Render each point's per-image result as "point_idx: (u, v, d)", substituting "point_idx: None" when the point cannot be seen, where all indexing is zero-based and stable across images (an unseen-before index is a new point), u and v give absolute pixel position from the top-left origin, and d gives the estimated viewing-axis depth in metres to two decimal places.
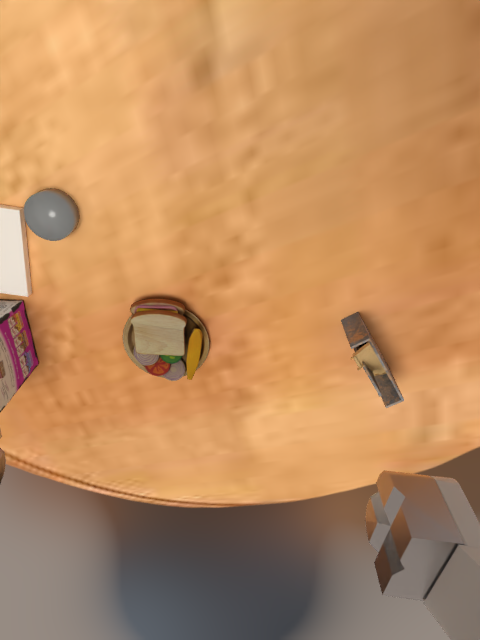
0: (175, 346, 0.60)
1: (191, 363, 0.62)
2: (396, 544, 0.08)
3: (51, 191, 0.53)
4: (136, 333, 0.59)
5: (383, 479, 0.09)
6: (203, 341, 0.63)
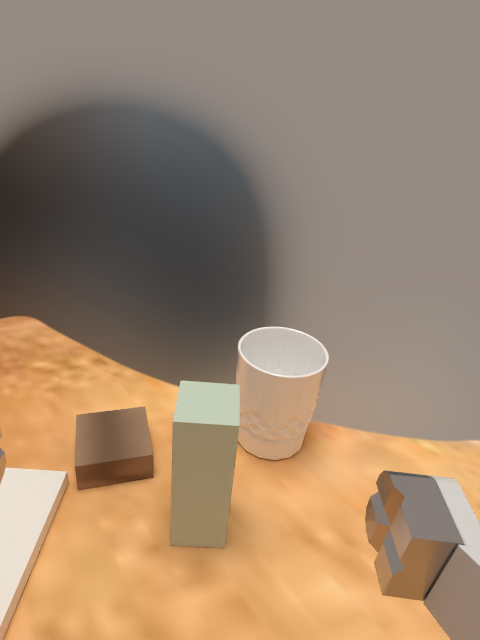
0: None
1: None
2: (396, 544, 0.08)
3: None
4: None
5: (383, 479, 0.09)
6: None
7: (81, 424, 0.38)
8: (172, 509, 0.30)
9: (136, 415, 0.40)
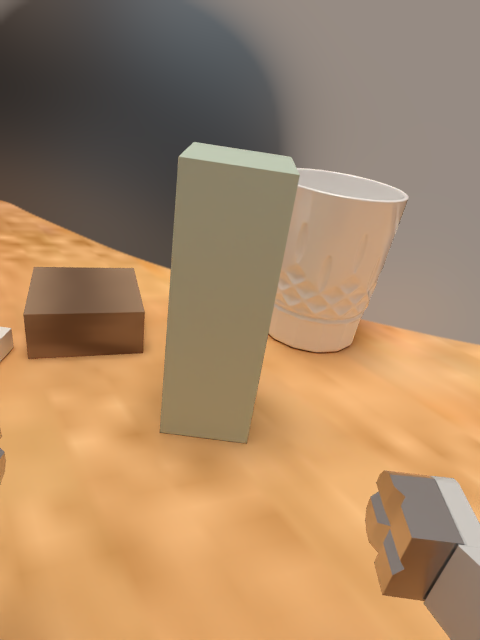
0: None
1: None
2: (396, 544, 0.08)
3: None
4: None
5: (383, 479, 0.09)
6: None
7: (40, 276, 0.26)
8: (166, 359, 0.18)
9: (121, 274, 0.28)
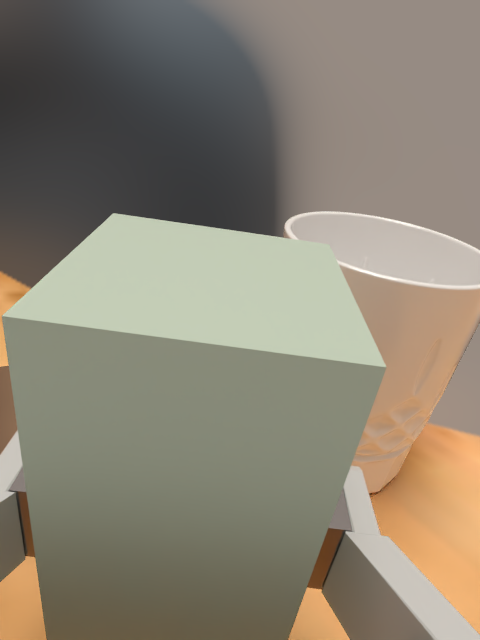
0: None
1: None
2: None
3: None
4: None
5: None
6: None
7: None
8: None
9: None
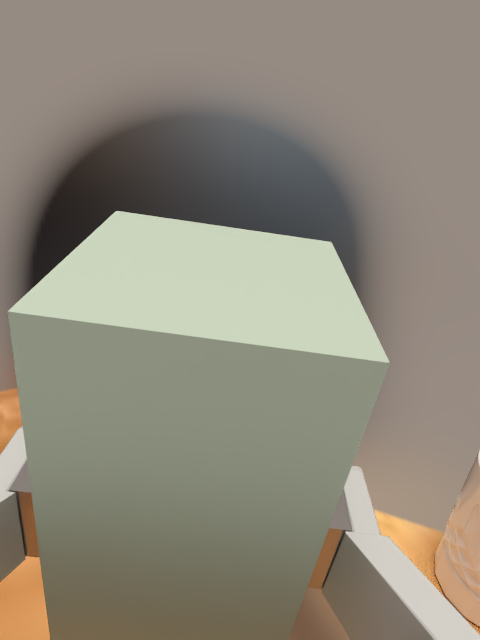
0: None
1: None
2: None
3: None
4: None
5: None
6: None
7: None
8: None
9: None
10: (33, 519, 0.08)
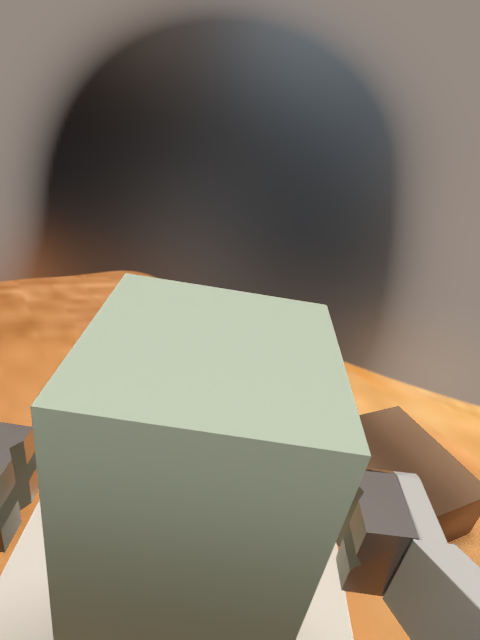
0: None
1: None
2: (354, 539, 0.08)
3: None
4: None
5: None
6: None
7: None
8: None
9: (399, 421, 0.23)
10: None
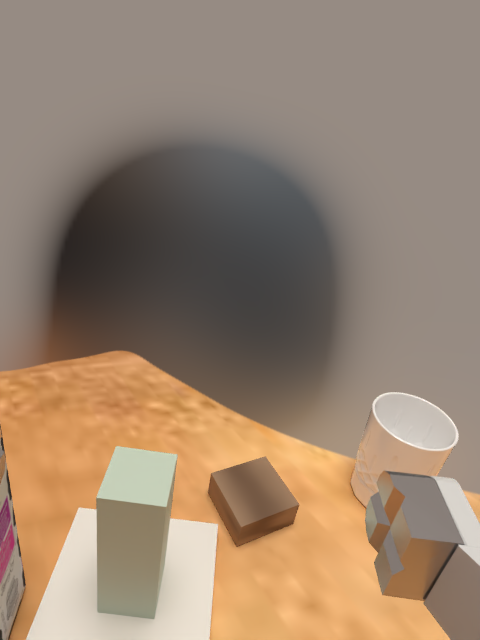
0: None
1: None
2: (396, 544, 0.08)
3: None
4: None
5: (383, 479, 0.09)
6: None
7: (222, 482, 0.40)
8: (98, 579, 0.29)
9: (263, 466, 0.43)
10: None
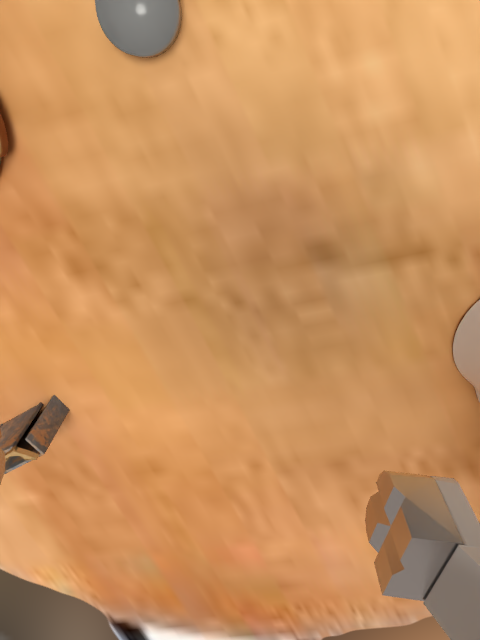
0: None
1: None
2: (396, 544, 0.08)
3: (178, 19, 0.33)
4: None
5: (383, 479, 0.09)
6: None
7: None
8: None
9: None
10: None
